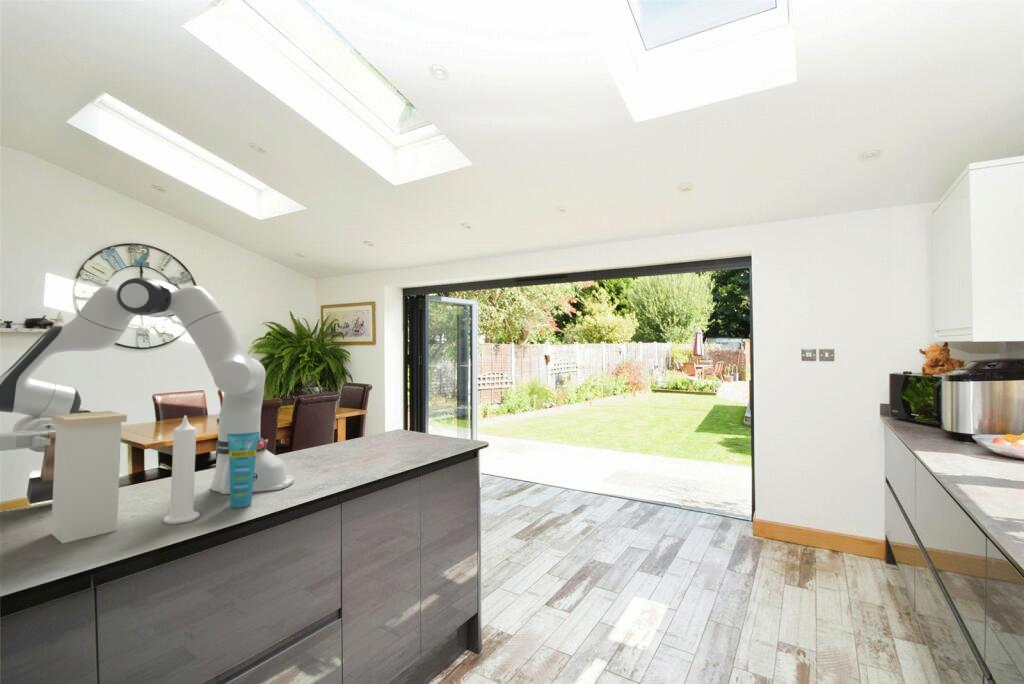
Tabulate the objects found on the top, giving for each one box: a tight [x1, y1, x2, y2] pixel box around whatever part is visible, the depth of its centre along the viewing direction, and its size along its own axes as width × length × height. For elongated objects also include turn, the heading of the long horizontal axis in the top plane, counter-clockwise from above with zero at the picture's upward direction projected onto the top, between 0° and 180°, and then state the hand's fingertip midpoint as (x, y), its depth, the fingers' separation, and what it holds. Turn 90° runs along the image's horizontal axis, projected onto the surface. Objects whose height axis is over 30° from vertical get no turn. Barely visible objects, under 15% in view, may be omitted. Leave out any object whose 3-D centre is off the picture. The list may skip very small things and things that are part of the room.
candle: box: [163, 415, 200, 525], centre depth 113 cm, size 7×7×25 cm
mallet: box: [26, 432, 56, 505], centre depth 119 cm, size 7×18×4 cm
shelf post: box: [50, 410, 128, 544], centre depth 104 cm, size 12×10×26 cm
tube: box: [227, 431, 261, 509], centre depth 123 cm, size 7×5×19 cm, turn 123°
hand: (58, 440), depth 117 cm, fingers closed on mallet, 3 cm apart
